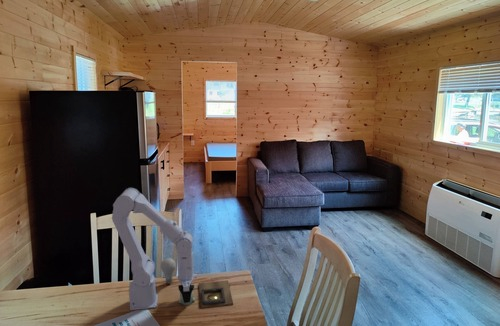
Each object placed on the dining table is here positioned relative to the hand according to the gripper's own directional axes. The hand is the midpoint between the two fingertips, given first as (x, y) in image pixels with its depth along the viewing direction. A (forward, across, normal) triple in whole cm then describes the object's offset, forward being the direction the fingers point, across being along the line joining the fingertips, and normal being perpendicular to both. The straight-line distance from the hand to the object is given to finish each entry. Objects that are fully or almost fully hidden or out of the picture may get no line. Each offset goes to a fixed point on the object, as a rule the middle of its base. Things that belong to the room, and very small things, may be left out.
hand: (186, 297), depth 136 cm
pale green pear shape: (+2, 0, 0) cm, 2 cm away
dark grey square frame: (+2, 0, -10) cm, 10 cm away
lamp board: (+2, +3, -11) cm, 12 cm away
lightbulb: (+2, +14, +7) cm, 16 cm away
